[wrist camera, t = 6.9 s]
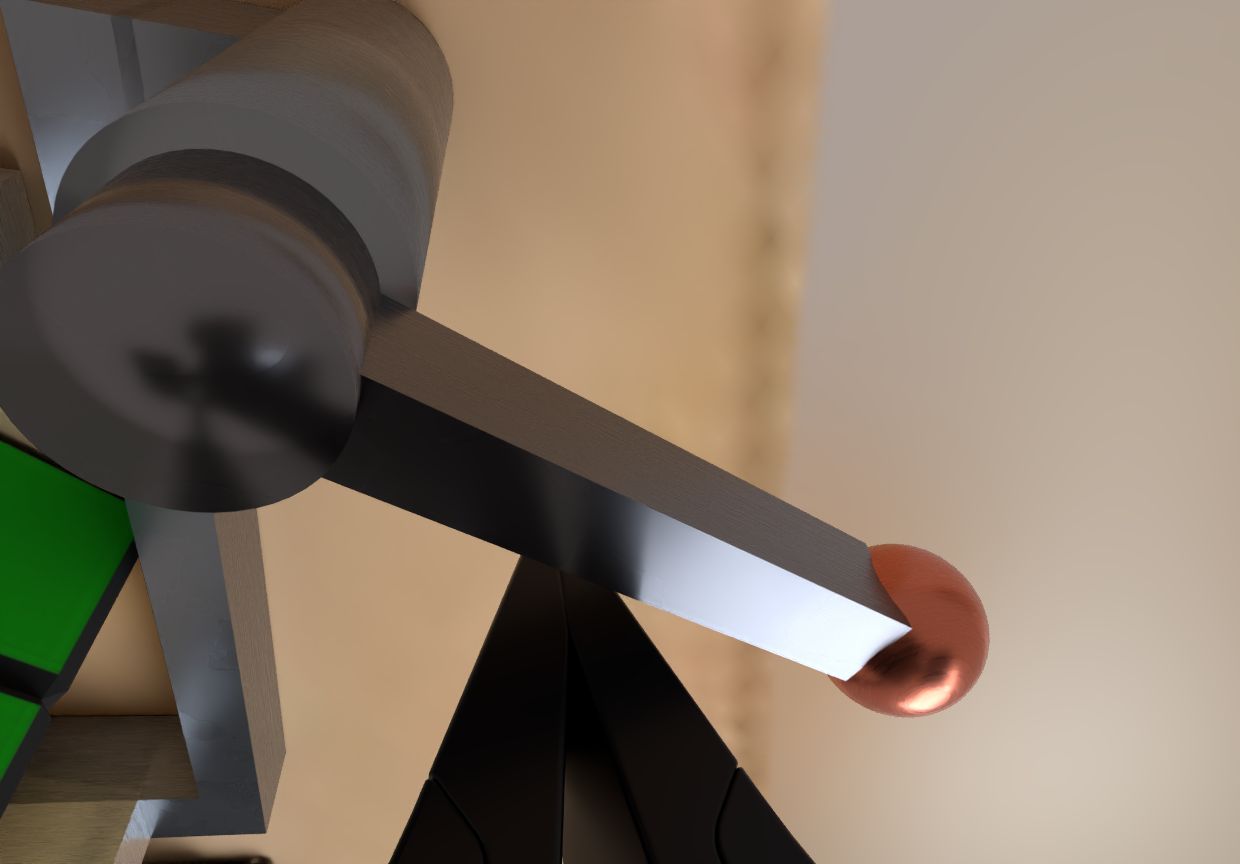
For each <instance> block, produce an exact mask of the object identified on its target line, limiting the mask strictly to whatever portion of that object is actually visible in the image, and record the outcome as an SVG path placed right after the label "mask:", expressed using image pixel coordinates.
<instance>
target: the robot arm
mask: <svg viewBox="0 0 1240 864" xmlns="http://www.w3.org/2000/svg"><path fill="white" fill-rule="evenodd" d="M737 766H738V762H737V760H736V758H735V757H734V756H733V754H732V753H731V751H730V750H729V749H728V747H727V746H726V744H725V743H724V742H723V740H722V739H721V737H720V736H719V735H718V733H717V732H716V730H715V729H714V728H713V726H712V725H711V723H710V722H709V721H708V719H707V718H706V716H705V715H704V714H703V712H702V711H701V709H700V708H699V707H698V705H697V704H696V702H695V701H694V700H693V698H692V697H691V695H690V694H689V693H688V691H687V690H686V688H685V687H684V686H683V684H682V683H681V681H680V680H679V679H678V677H677V676H676V674H675V673H674V672H673V670H672V669H671V667H670V666H669V665H668V663H667V662H666V660H665V659H664V658H663V656H662V655H661V653H660V652H659V650H658V649H657V648H656V646H655V645H654V643H653V642H652V641H651V639H650V638H649V636H648V635H647V634H646V632H645V631H644V629H643V628H642V627H641V625H640V624H639V622H638V621H637V620H636V618H635V617H634V615H633V614H632V613H631V611H630V610H629V608H628V607H627V606H626V604H625V603H624V601H623V600H622V599H621V597H620V596H619V594H618V593H617V592H615V591H613V590H610V589H607V588H605V587H602V586H600V585H597V584H595V583H592V582H589V581H587V580H584V579H582V578H579V577H577V576H574V575H571V574H569V573H566V572H564V571H561V570H559V569H556V568H553V567H551V566H548V565H546V564H543V563H541V562H538V561H535V560H533V559H530V558H528V557H525V556H523V555H520V558H519V560H518V563H517V565H516V567H515V570H514V572H513V575H512V577H511V579H510V582H509V584H508V586H507V589H506V591H505V594H504V596H503V598H502V601H501V603H500V606H499V608H498V610H497V613H496V615H495V617H494V620H493V622H492V625H491V627H490V629H489V632H488V634H487V637H486V639H485V641H484V644H483V646H482V648H481V651H480V653H479V656H478V658H477V660H476V663H475V665H474V667H473V670H472V672H471V675H470V677H469V679H468V682H467V684H466V686H465V689H464V691H463V694H462V696H461V698H460V701H459V703H458V706H457V708H456V710H455V713H454V715H453V717H452V720H451V722H450V725H449V727H448V729H447V732H446V734H445V736H444V739H443V741H442V744H441V746H440V748H439V751H438V753H437V756H436V758H435V760H434V763H433V765H432V767H431V770H430V772H429V779H427V780H426V781H425V783H424V785H423V788H422V790H421V792H420V795H419V797H418V800H417V802H416V804H415V807H414V809H413V812H412V814H411V816H410V818H409V820H408V822H407V825H406V827H405V829H404V831H403V833H402V836H401V838H400V840H399V842H398V844H397V846H396V849H395V851H394V853H393V855H392V857H391V860H390V862H389V863H388V864H562V857H563V864H816V863H815V862H814V861H813V860H812V859H811V858H810V856H809V855H808V854H807V853H806V851H805V850H804V849H803V848H802V847H801V846H800V844H799V843H798V842H797V841H796V839H795V838H794V837H793V836H792V835H791V833H790V832H789V831H788V829H787V828H786V826H785V825H784V824H783V823H782V821H781V820H780V819H779V817H778V816H777V815H776V813H775V812H774V811H773V809H772V808H771V807H770V805H769V804H768V803H767V801H766V800H765V799H764V797H763V796H762V795H761V793H760V792H759V790H758V789H757V788H756V786H755V785H754V783H753V782H752V781H751V779H750V778H749V776H748V775H747V773H746V772H745V771H744V769H743V768H741V767H738V768H737Z"/></svg>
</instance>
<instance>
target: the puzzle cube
mask: <svg viewBox="0 0 1240 864" xmlns="http://www.w3.org/2000/svg"><path fill="white" fill-rule="evenodd" d="M138 557H139V555H138V551H137V547H136V543H135V539H134V535H133V531H132V527H131V523H130V519H129V515H128V511H127V507H126V503H125V501H123V500H121V499H119V498H117V497H115V496H113V495H111V494H109V493H107V492H105V491H103V490H101V489H99V488H97V487H95V486H93V485H91V484H89V483H87V482H85V481H83V480H81V479H79V478H77V477H75V476H73V475H70V474H68V473H66V472H64V471H62V470H60V469H58V468H56V467H54V466H52V465H50V464H48V463H46V462H44V461H42V460H40V459H38V458H36V457H34V456H32V455H30V454H28V453H26V452H24V451H22V450H20V449H18V448H16V447H13V446H11V445H9V444H7V443H5V442H3V441H1V440H0V819H1V817H2V815H3V813H4V811H5V810H6V808H7V806H8V804H9V802H10V800H11V798H12V796H13V794H14V792H15V790H16V788H17V786H18V784H19V783H20V781H21V779H22V777H23V775H24V773H25V771H26V769H27V767H28V765H29V763H30V761H31V759H32V758H33V756H34V754H35V752H36V750H37V748H38V746H39V744H40V742H41V740H42V738H43V736H44V734H45V733H46V731H47V729H48V727H49V725H50V723H51V721H52V720H51V718H50V715H49V713H48V711H47V710H48V709H49V708H50V707H52V706H53V705H54V704H55V703H56V702H57V701H58V700H59V699H60V698H61V697H62V696H63V695H64V694H65V693H66V692H67V691H68V689H69V688H70V686H71V684H72V682H73V680H74V678H75V676H76V674H77V672H78V670H79V669H80V667H81V665H82V663H83V661H84V659H85V657H86V655H87V653H88V652H89V650H90V648H91V646H92V644H93V642H94V640H95V638H96V636H97V634H98V633H99V631H100V629H101V627H102V625H103V623H104V621H105V619H106V617H107V616H108V614H109V612H110V610H111V608H112V606H113V604H114V602H115V600H116V598H117V597H118V595H119V593H120V591H121V589H122V587H123V585H124V583H125V581H126V579H127V578H128V576H129V574H130V572H131V570H132V568H133V566H134V564H135V562H136V561H137V559H138Z"/></svg>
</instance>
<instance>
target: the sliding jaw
mask: <svg viewBox="0 0 1240 864" xmlns="http://www.w3.org/2000/svg"><path fill="white" fill-rule="evenodd" d="M37 238H38V235H37V231H36V228H35V224H34V220H33V216H32V213H31V209H30V205H29V202H28V198H27V194H26V190H25V187H24V183H23V179H22V176H21V172H20V170H14V169H6V168H0V269H1V268H2V267H3V266H5V265H6V264H7V263H8V262H9V261H10V260H11V259H12V258H13V257H14V256H15V255H16V254H18V253H19V252H20V251H21V250H23V249H24V248H25V247H26V246H28V245H29V244H30V243H31V242H33V241H34V240H35V239H37Z"/></svg>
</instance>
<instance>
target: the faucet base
mask: <svg viewBox="0 0 1240 864" xmlns="http://www.w3.org/2000/svg"><path fill="white" fill-rule="evenodd" d="M0 8H1V12H2V16H3V20H4V24H5V28H6V32H7V36H8V40H9V44H10V48H11V52H12V56H13V59H14V63H15V67H16V71H17V75H18V79H19V83H20V87H21V91H22V95H23V99H24V103H25V107H26V111H27V115H28V119H29V123H30V127H31V131H32V135H33V139H34V143H35V147H36V151H37V155H38V159H39V163H40V166H41V170H42V174H43V178H44V182H45V186H46V190H47V194H48V198H49V202H50V206H51V210H52V214H53V225H54V224H56V223H57V222H58V221H59V220H61V219H62V218H63V217H65V216H66V215H67V214H68V213H70V212H71V211H72V210H73V209H75V208H76V207H77V206H78V205H80V204H81V203H82V202H84V201H85V200H86V199H87V198H89V197H90V196H91V195H92V194H94V193H95V192H96V191H98V190H99V189H100V188H101V187H103V186H104V185H105V184H106V183H108V182H109V181H110V180H112V179H113V178H114V177H115V176H117V175H118V174H119V173H121V172H122V171H124V170H125V169H127V168H128V167H130V166H131V165H133V164H135V163H137V162H139V161H142V160H144V159H146V158H148V157H151V156H155V155H158V154H162V153H165V152H169V151H177V150H184V149H215V150H223V151H231V152H236V153H240V154H244V155H248V156H252V157H255V158H258V159H261V160H263V161H266V162H269V163H272V164H274V165H276V166H278V167H280V168H282V169H284V170H286V171H288V172H291V173H293V174H294V175H296V176H298V177H299V178H301V179H302V180H304V181H305V182H307V183H309V184H310V185H312V186H313V187H314V188H316V189H317V190H318V191H319V192H321V193H322V194H323V195H324V196H326V197H327V198H328V199H329V200H330V201H331V202H332V203H333V204H334V205H335V206H336V207H337V208H338V209H339V210H340V211H341V212H342V213H343V214H344V215H345V216H346V217H347V219H348V220H349V221H350V222H351V224H352V225H353V226H354V227H355V228H356V230H357V232H358V233H359V235H360V236H361V238H362V240H363V241H364V243H365V244H366V246H367V248H368V251H369V253H370V255H371V257H372V259H373V262H374V265H375V268H376V271H377V274H378V277H379V283H380V289H381V293H382V294H384V295H385V296H387V297H389V298H391V299H393V300H395V301H397V302H399V303H401V304H403V305H405V306H407V307H409V308H411V309H413V310H414V311H416V309H417V304H418V298H419V293H420V287H421V282H422V277H423V271H424V266H425V260H426V255H427V249H428V244H429V239H430V233H431V228H432V222H433V217H434V212H435V206H436V201H437V195H438V190H439V185H440V179H441V174H442V168H443V163H444V158H445V152H446V147H447V141H448V136H449V130H450V125H451V120H452V113H453V86H452V79H451V75H450V72H449V68H448V65H447V63H446V60H445V57H444V55H443V53H442V51H441V49H440V48H439V46H438V44H437V42H436V41H435V39H434V38H433V36H432V35H431V33H430V32H429V31H428V30H427V29H426V28H425V26H424V25H423V24H422V23H421V22H420V21H419V20H418V19H417V18H416V17H415V16H414V15H413V14H412V13H410V12H409V11H408V10H406V9H405V8H403V7H402V6H401V5H399V4H397V3H396V2H394V1H392V0H302V1H301V2H299V3H298V4H296V5H294V6H293V7H291V8H290V9H288V10H287V11H284V10H279V9H273V8H268V7H262V6H257V5H251V4H246V3H240V2H235V1H229V0H0ZM124 499H125V503H126V507H127V511H128V515H129V519H130V523H131V527H132V531H133V535H134V539H135V543H136V547H137V551H138V555H139V559H140V563H141V567H142V571H143V575H144V579H145V583H146V586H147V590H148V594H149V598H150V602H151V606H152V610H153V614H154V618H155V622H156V626H157V630H158V634H159V638H160V642H161V646H162V650H163V654H164V658H165V662H166V666H167V670H168V674H169V678H170V682H171V686H172V690H173V693H174V697H175V701H176V705H177V709H178V713H179V716H76V717H50V718H51V720H52V721H51V723H50V725H49V727H48V729H47V731H46V733H45V734H44V736H43V738H42V740H41V742H40V744H39V746H38V748H37V750H36V752H35V754H34V756H33V758H32V759H31V761H30V763H29V765H28V767H27V769H26V771H25V773H24V775H23V777H22V779H21V781H20V783H19V784H18V786H17V788H16V790H15V792H14V794H13V796H12V798H11V800H10V802H9V804H8V806H7V808H6V810H5V811H4V813H3V815H2V817H1V819H0V864H141V863H142V861H143V858H144V855H145V852H146V850H147V847H148V844H149V841H150V838H162V837H187V836H213V835H238V834H263V833H267V828H268V824H269V820H270V816H271V812H272V808H273V803H274V799H275V795H276V791H277V787H278V783H279V779H280V774H281V770H282V766H283V762H284V758H285V754H286V750H285V742H284V733H283V725H282V717H281V709H280V700H279V692H278V684H277V675H276V667H275V659H274V651H273V642H272V634H271V626H270V618H269V609H268V601H267V593H266V584H265V576H264V568H263V560H262V551H261V543H260V535H259V527H258V518H257V510H256V508H255V509H249V510H242V511H236V512H221V513H203V512H187V511H179V510H171V509H166V508H161V507H156V506H151V505H147V504H144V503H140V502H137V501H134V500H130V499H127V498H124Z"/></svg>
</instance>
